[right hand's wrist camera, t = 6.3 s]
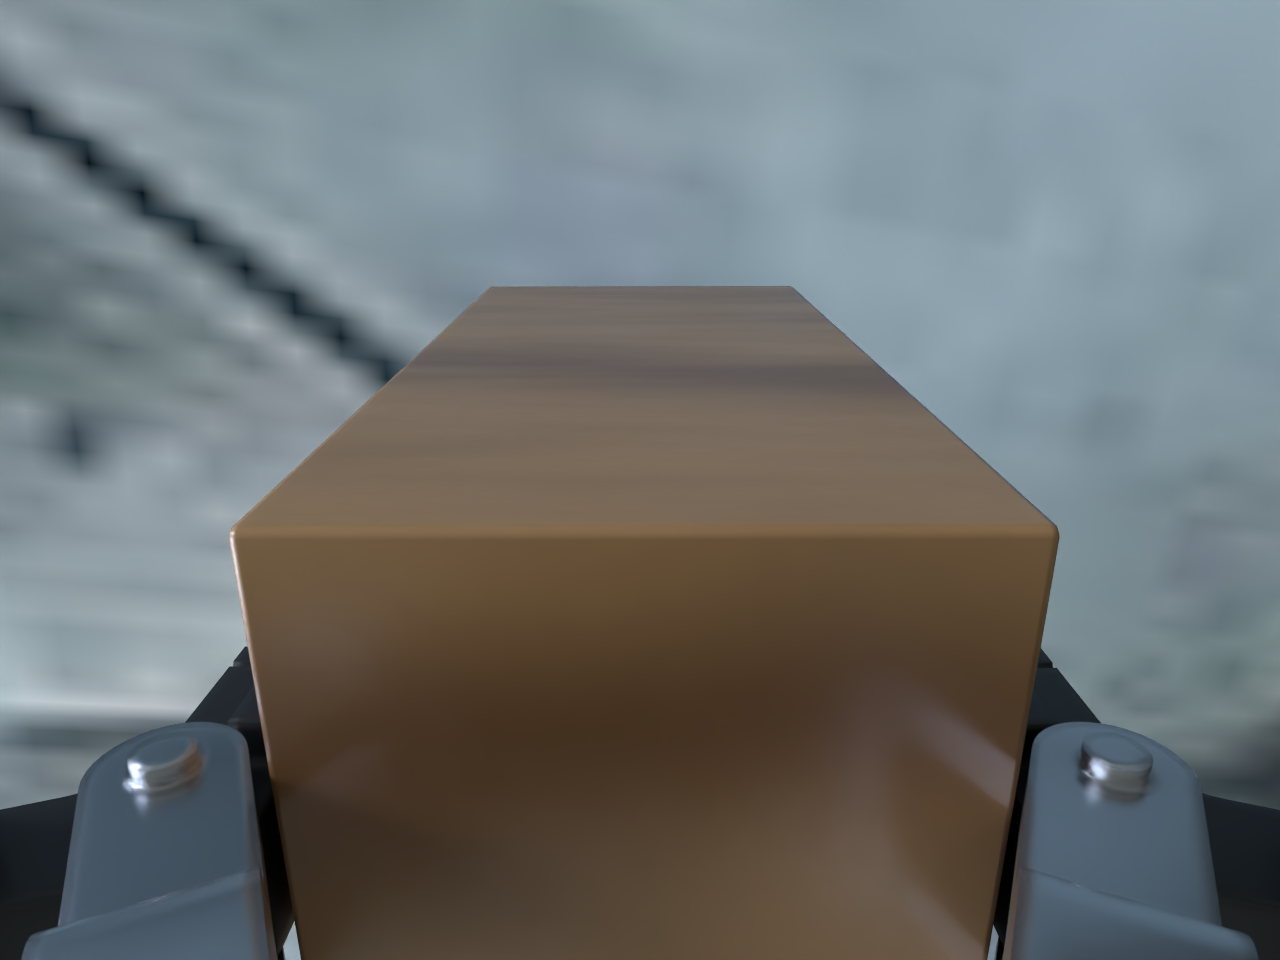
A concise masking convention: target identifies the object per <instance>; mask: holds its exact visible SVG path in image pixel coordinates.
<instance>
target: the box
mask: <svg viewBox="0 0 1280 960" xmlns="http://www.w3.org/2000/svg"><path fill="white" fill-rule="evenodd" d="M229 540H230V546H231V552H232V558H233V564H234V570H235V575H236V581H237V587H238V593H239V599H240V605H241V610H242V616H243V622H244V628H245V634H246V640H247V645H248V651H249V657H250V663H251V669H252V675H253V680H254V686H255V692H256V698H257V704H258V710H259V716H260V721H261V727H262V733H263V739H264V745H265V751H266V756H267V762H268V768H269V774H270V780H271V786H272V791H273V797H274V803H275V809H276V815H277V821H278V826H279V832H280V838H281V844H282V850H283V856H284V862H285V867H286V873H287V879H288V885H289V891H290V897H291V902H292V908H293V914H294V920H295V926H296V932H297V937H298V943H299V949H300V955H301V960H987V957H988V952H989V946H990V940H991V934H992V928H993V922H994V917H995V911H996V905H997V899H998V893H999V887H1000V881H1001V876H1002V870H1003V864H1004V858H1005V852H1006V846H1007V841H1008V835H1009V829H1010V823H1011V817H1012V811H1013V806H1014V800H1015V794H1016V788H1017V782H1018V776H1019V770H1020V765H1021V759H1022V753H1023V747H1024V741H1025V735H1026V730H1027V724H1028V718H1029V712H1030V706H1031V700H1032V695H1033V689H1034V683H1035V677H1036V671H1037V665H1038V660H1039V654H1040V648H1041V642H1042V636H1043V630H1044V624H1045V619H1046V613H1047V607H1048V601H1049V595H1050V589H1051V584H1052V578H1053V572H1054V566H1055V560H1056V554H1057V549H1058V543H1059V532H1058V528H1057V526H1056V525H1055V524H1054V523H1053V522H1052V521H1051V520H1050V519H1048V518H1047V517H1046V516H1045V515H1044V514H1043V513H1042V512H1041V511H1040V510H1039V509H1037V508H1036V507H1035V506H1034V505H1033V504H1032V503H1031V502H1030V501H1029V500H1027V499H1026V498H1025V497H1024V496H1023V495H1022V494H1021V493H1020V492H1019V491H1017V490H1016V489H1015V488H1014V487H1013V486H1012V485H1011V484H1010V483H1009V482H1008V481H1006V480H1005V479H1004V478H1003V477H1002V476H1001V475H1000V474H999V473H998V472H996V471H995V470H994V469H993V468H992V467H991V466H990V465H989V464H988V463H986V462H985V461H984V460H983V459H982V458H981V457H980V456H979V455H978V454H977V453H975V452H974V451H973V450H972V449H971V448H970V447H969V446H968V445H967V444H965V443H964V442H963V441H962V440H961V439H960V438H959V437H958V436H957V435H956V434H954V433H953V432H952V431H951V430H950V429H949V428H948V427H947V426H946V425H944V424H943V423H942V422H941V421H940V420H939V419H938V418H937V417H936V416H934V415H933V414H932V413H931V412H930V411H929V410H928V409H927V408H926V407H925V406H923V405H922V404H921V403H920V402H919V401H918V400H917V399H916V398H915V397H913V396H912V395H911V394H910V393H909V392H908V391H907V390H906V389H905V388H904V387H902V386H901V385H900V384H899V383H898V382H897V381H896V380H895V379H894V378H892V377H891V376H890V375H889V374H888V373H887V372H886V371H885V370H884V369H882V368H881V367H880V366H879V365H878V364H877V363H876V362H875V361H874V360H873V359H871V358H870V357H869V356H868V355H867V354H866V353H865V352H864V351H863V350H861V349H860V348H859V347H858V346H857V345H856V344H855V343H854V342H853V341H851V340H850V339H849V338H848V337H847V336H846V335H845V334H844V333H843V332H842V331H840V330H839V329H838V328H837V327H836V326H835V325H834V324H833V323H832V322H830V321H829V320H828V319H827V318H826V317H825V316H824V315H823V314H822V313H821V312H819V311H818V310H817V309H816V308H815V307H814V306H813V305H812V304H811V303H809V302H808V301H807V300H806V299H805V298H804V297H803V296H802V295H801V294H799V293H798V292H797V291H796V290H795V289H794V288H793V287H790V286H609V287H490V288H489V289H487V290H486V291H485V292H484V293H483V294H482V295H481V296H480V297H479V298H478V299H477V300H476V301H475V302H473V303H472V304H471V305H470V306H469V307H468V308H467V309H466V310H465V311H464V312H463V313H462V314H461V315H460V316H458V317H457V318H456V319H455V320H454V321H453V322H452V323H451V324H450V325H449V326H448V327H447V328H446V329H444V330H443V331H442V332H441V333H440V334H439V335H438V336H437V337H436V338H435V339H434V340H433V341H432V342H431V343H429V344H428V345H427V346H426V347H425V348H424V349H423V350H422V351H421V352H420V353H419V354H418V355H417V356H416V357H414V358H413V359H412V360H411V361H410V362H409V363H408V364H407V365H406V366H405V367H404V368H403V369H402V370H400V371H399V372H398V373H397V374H396V375H395V376H394V377H393V378H392V379H391V380H390V381H389V382H388V383H387V384H385V385H384V386H383V387H382V388H381V389H380V390H379V391H378V392H377V393H376V394H375V395H374V396H373V397H371V398H370V399H369V400H368V401H367V402H366V403H365V404H364V405H363V406H362V407H361V408H360V409H359V410H358V411H356V412H355V413H354V414H353V415H352V416H351V417H350V418H349V419H348V420H347V421H346V422H345V423H344V424H342V425H341V426H340V427H339V428H338V429H337V430H336V431H335V432H334V433H333V434H332V435H331V436H330V437H329V438H327V439H326V440H325V441H324V442H323V443H322V444H321V445H320V446H319V447H318V448H317V449H316V450H315V451H313V452H312V453H311V454H310V455H309V456H308V457H307V458H306V459H305V460H304V461H303V462H302V463H301V464H300V465H298V466H297V467H296V468H295V469H294V470H293V471H292V472H291V473H290V474H289V475H288V476H287V477H286V478H285V479H283V480H282V481H281V482H280V483H279V484H278V485H277V486H276V487H275V488H274V489H273V490H272V491H271V492H269V493H268V494H267V495H266V496H265V497H264V498H263V499H262V500H261V501H260V502H259V503H258V504H257V505H256V506H254V507H253V508H252V509H251V510H250V511H249V512H248V513H247V514H246V515H245V516H244V517H243V518H242V519H240V520H239V521H238V522H237V523H236V524H235V525H234V526H233V527H232V528H231V532H230V536H229Z"/></svg>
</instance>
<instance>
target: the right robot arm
mask: <svg viewBox="0 0 1280 960" xmlns="http://www.w3.org/2000/svg"><path fill="white" fill-rule="evenodd" d="M1052 664H1053V663H1052V661H1051V660H1050V659H1049V658H1048V657H1047V655H1046V654H1045V653H1044V652H1043V650H1042V649H1041V648H1040V654H1039V660H1038V665H1037V671H1036V677H1035V683H1034V689H1033V695H1032V700H1031V706H1030V712H1029V718H1028V724H1027V730H1026V735H1025V741H1024V747H1023V753H1022V759H1021V765H1020V770H1019V776H1018V782H1017V788H1016V794H1015V800H1014V806H1013V811H1012V817H1011V823H1010V829H1009V835H1008V841H1007V846H1006V852H1005V858H1004V864H1003V870H1002V876H1001V881H1000V887H999V893H998V899H997V905H996V911H995V917H994V922H993V925H994V927H995V929H996V931H997V934H998V936H999V937H998V942H997V948H996V954H995V959H994V960H1280V810H1276V809H1271V808H1266V807H1261V806H1256V805H1252V804H1247V803H1242V802H1237V801H1232V800H1227V799H1222V798H1218V797H1214V796H1210V795H1206V794H1203V793H1202V789H1201V786H1200V782H1199V780H1198V778H1197V776H1196V775H1195V773H1194V771H1193V770H1192V769H1191V768H1190V767H1189V766H1188V764H1187V763H1186V762H1184V761H1183V760H1182V759H1181V758H1180V757H1179V756H1178V755H1176V754H1175V753H1173V752H1172V751H1171V750H1169V749H1168V748H1166V747H1164V746H1163V745H1161V744H1159V743H1157V742H1155V741H1154V740H1151V739H1149V738H1147V737H1145V736H1143V735H1140V734H1138V733H1135V732H1132V731H1129V730H1126V729H1123V728H1119V727H1115V726H1111V725H1106V724H1101V723H1100V721H1099V720H1098V719H1097V718H1096V716H1095V715H1094V714H1093V713H1092V711H1091V710H1090V709H1089V708H1088V706H1087V705H1086V704H1085V703H1084V701H1083V700H1082V699H1081V698H1080V696H1079V695H1078V694H1077V693H1076V691H1075V690H1074V689H1073V688H1072V686H1071V685H1070V684H1069V683H1068V681H1067V680H1066V679H1065V678H1064V676H1063V675H1062V674H1061V673H1060V671H1059V670H1058V669H1057V668H1053V665H1052ZM293 923H294V914H293V908H292V902H291V897H290V891H289V885H288V879H287V873H286V867H285V862H284V856H283V850H282V844H281V838H280V832H279V826H278V821H277V815H276V809H275V803H274V797H273V791H272V786H271V780H270V774H269V768H268V762H267V756H266V751H265V745H264V739H263V733H262V727H261V721H260V716H259V710H258V704H257V698H256V692H255V686H254V680H253V675H252V669H251V663H250V657H249V651H248V647H245V648H244V649H243V650H242V651H241V653H240V654H239V655H238V656H237V658H236V659H235V660H234V664H233V667H229V668H228V669H227V670H226V672H225V673H224V674H223V675H222V677H221V678H220V679H219V680H218V682H217V683H216V684H215V686H214V687H213V688H212V689H211V691H210V692H209V693H208V694H207V696H206V697H205V698H204V699H203V701H202V702H201V703H200V705H199V706H198V707H197V708H196V710H195V711H194V712H193V713H192V715H191V716H190V717H189V718H188V720H187V721H186V722H185V723H179V724H174V725H169V726H165V727H161V728H157V729H154V730H151V731H148V732H145V733H142V734H140V735H137V736H135V737H133V738H131V739H128V740H126V741H124V742H123V743H121V744H119V745H117V746H116V747H114V748H112V749H111V750H109V751H108V752H107V753H105V754H104V755H102V756H101V757H100V758H99V759H98V760H97V761H96V762H94V763H93V764H92V766H91V767H90V768H89V769H88V770H87V771H86V773H85V775H84V776H83V778H82V780H81V782H80V786H79V789H78V794H74V795H70V796H66V797H61V798H56V799H52V800H47V801H42V802H37V803H32V804H27V805H22V806H17V807H12V808H7V809H2V810H0V960H285V954H284V948H283V945H284V943H285V941H286V938H287V936H288V934H289V932H290V929H291V927H292V925H293Z"/></svg>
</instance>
